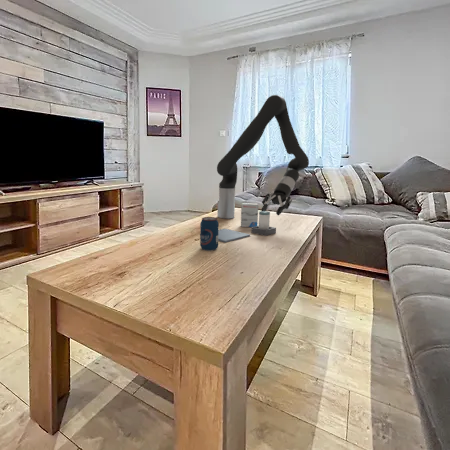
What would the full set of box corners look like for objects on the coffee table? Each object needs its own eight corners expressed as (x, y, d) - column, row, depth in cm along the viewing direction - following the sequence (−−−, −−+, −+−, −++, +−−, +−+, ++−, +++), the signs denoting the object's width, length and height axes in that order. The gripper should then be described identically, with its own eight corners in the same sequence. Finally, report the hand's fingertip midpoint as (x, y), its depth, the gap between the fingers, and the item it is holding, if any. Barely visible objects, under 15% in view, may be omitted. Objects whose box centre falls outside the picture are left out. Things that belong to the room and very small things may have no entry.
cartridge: (256, 232, 148) (257, 211, 146) (262, 231, 152) (263, 210, 150) (264, 234, 145) (265, 213, 143) (271, 232, 149) (272, 212, 146)
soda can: (196, 249, 119) (197, 219, 117) (205, 245, 126) (205, 216, 123) (213, 252, 117) (213, 220, 114) (221, 247, 123) (221, 217, 120)
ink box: (257, 225, 164) (258, 203, 162) (257, 227, 159) (258, 204, 157) (241, 224, 165) (241, 202, 163) (240, 226, 160) (241, 204, 158)
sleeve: (251, 232, 148) (251, 227, 148) (262, 229, 154) (262, 225, 154) (265, 235, 143) (265, 230, 142) (275, 233, 149) (276, 227, 148)
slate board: (199, 235, 141) (199, 233, 141) (224, 230, 152) (224, 228, 152) (225, 242, 130) (225, 240, 130) (250, 236, 141) (250, 234, 141)
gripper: (270, 181, 157) (254, 206, 152) (294, 183, 148) (279, 210, 142) (275, 191, 162) (261, 215, 157) (299, 193, 153) (285, 220, 147)
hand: (269, 213), depth 149 cm, fingers open, 8 cm apart
